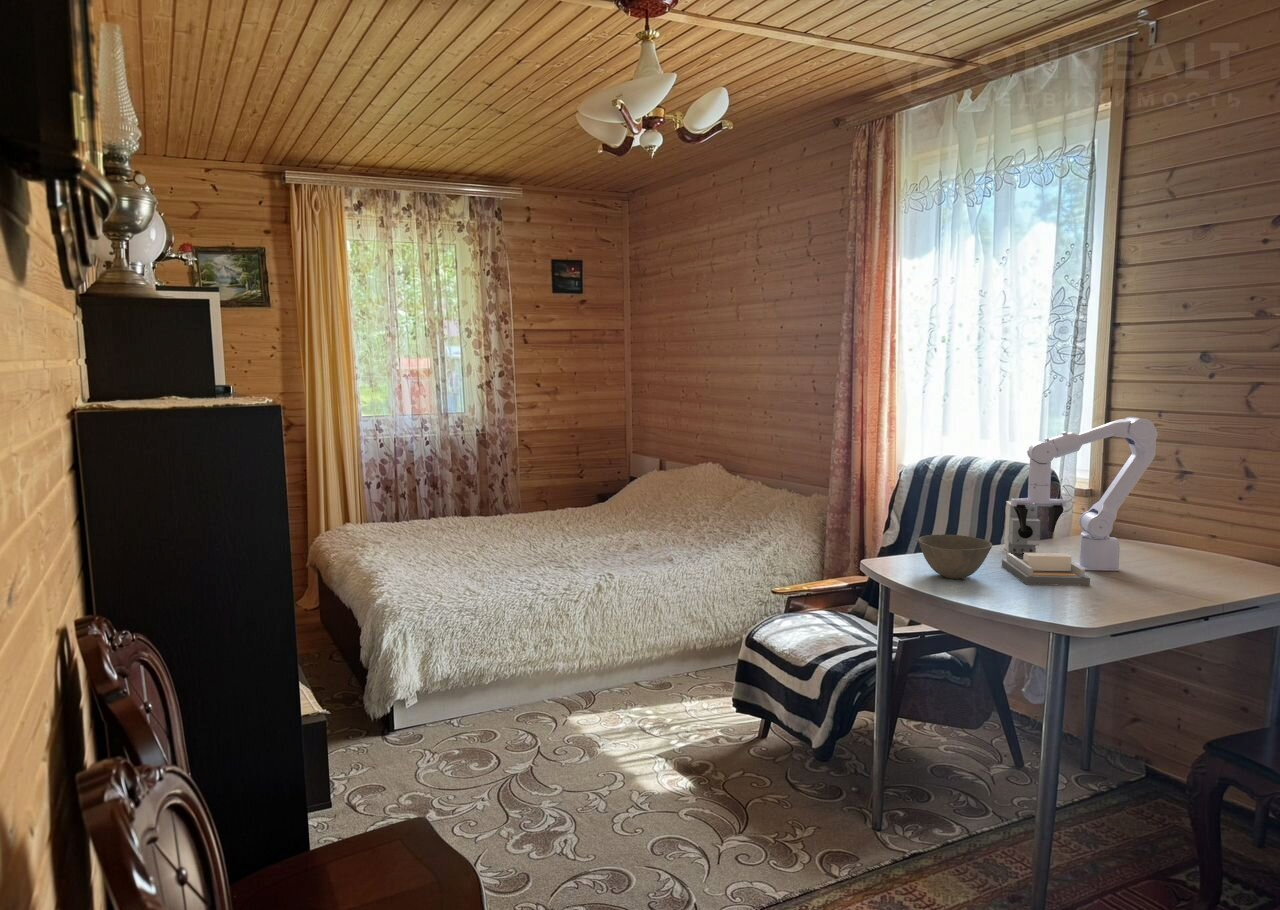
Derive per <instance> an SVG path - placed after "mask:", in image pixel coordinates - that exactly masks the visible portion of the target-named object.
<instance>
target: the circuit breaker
mask: <svg viewBox="0 0 1280 910" xmlns="http://www.w3.org/2000/svg"><path fill="white" fill-rule="evenodd" d="M1005 503H1006V505H1005V512H1004V513H1005V514H1004V515H1005V528H1004V529H1005V532H1004V537H1003V538H1004V540H1003V541H1004V542H1003V544H1004V547H1005V548H1004V550H1005V549H1006V550H1007V551H1006V553H1021V554H1020V555H1023V554H1022V553H1037V551H1036V549H1037V548H1036V547H1037V546H1040V542H1041V541H1040V536H1041V520H1040V519H1039V518H1038V508H1039V506H1025V507H1026V509H1028V512H1027V518H1026V532H1023V531H1021V527H1020V522H1019V519H1018V516H1017V513H1016V511H1015V509H1014V506H1012V505H1011V500H1005ZM1033 504H1034V503H1033Z"/></svg>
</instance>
